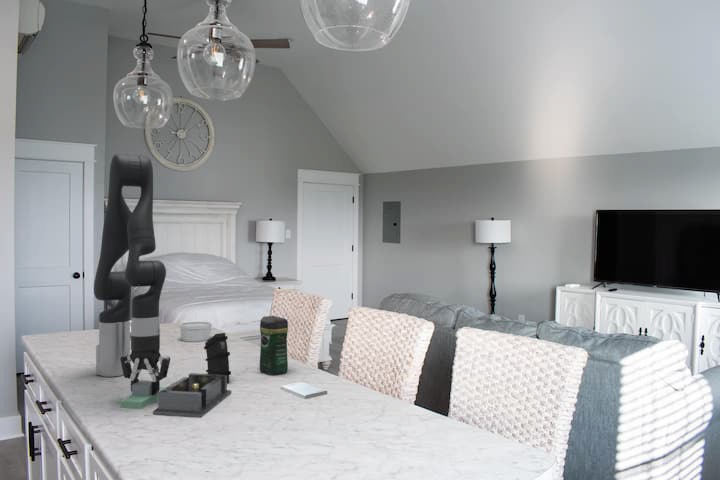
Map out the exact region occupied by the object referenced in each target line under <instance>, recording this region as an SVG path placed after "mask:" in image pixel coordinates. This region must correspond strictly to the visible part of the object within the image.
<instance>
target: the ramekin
mask: <svg viewBox="0 0 720 480" xmlns="http://www.w3.org/2000/svg"><path fill="white" fill-rule="evenodd" d="M212 327H213V324H212V322H210V321H200V320H199V321H197V320H196V321H185V322H181V323H179V330H180V337H181V340H182V341H184V342H188V343H195V342H196V343H199V342H205V341H206V342H207V341H208V340H209V339H210V338H211V331H212Z"/></svg>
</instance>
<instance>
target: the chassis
mask: <svg viewBox="0 0 720 480" xmlns="http://www.w3.org/2000/svg"><path fill="white" fill-rule="evenodd" d="M166 387H167V391H165V390H161V391H159V399H157V401H158V407H157V408H155V409H154V410H153V411H152V415H157V416H158V415H163V416H173V417H175V416H176V417H177V416H179V417H192V418H202V417H203V416H205V414H207V413H208V412H209V411H210V410H212V409H214V408H215V407H216V406H217V405H218V404H219V403H221V402H222V401H223V400H225V399H226V398H227V397H228V396H230V395H231V394H232V390H231V389H228V383H227V375H218V374H208V373H200V372H199V373H197V372H196V373H195V372H190V373H189V374H188V377H187V376H183V377H182V378H180V379H178V380H177V381H175V382H173V383H171V384H170V385H168V386H166Z"/></svg>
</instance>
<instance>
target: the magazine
mask: <svg viewBox="0 0 720 480" xmlns="http://www.w3.org/2000/svg"><path fill="white" fill-rule="evenodd" d="M228 338H229V337H228V336H227V335H226V333H225V332H220V333H215V334H214V335H213V336H211V337H209V339H208V340H206V342H205V341H204V345H205V346H204V347H203V349H204V350H205V352H206V358H205V362H207V369H206V370H205V372H206V373H207V374H218V375H227V384H229V383H230V376H231V375H232V371H231V370H230V361H229V356H231V353H230V351H228V349H229V348H228V342H227V340H228Z"/></svg>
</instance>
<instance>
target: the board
mask: <svg viewBox="0 0 720 480" xmlns="http://www.w3.org/2000/svg"><path fill="white" fill-rule="evenodd" d="M152 382H153V381H152V380H147V379H145V380H144V379H141V380H139V382H137V383H135V384H133V385H132V392H131V395H129V396H126V397H125V398H123V399H121V400H120V408H122V409H137V410H139V409H140V410H142V409H143V410H144V408H146V407H148V406H149V405H151V404H152V403H154V402H156V401H158V400H159V392H158V393H157V394H156V395H152ZM159 387H160V390H159V391H161V390H165V391H167V387H168V386H159Z"/></svg>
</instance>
